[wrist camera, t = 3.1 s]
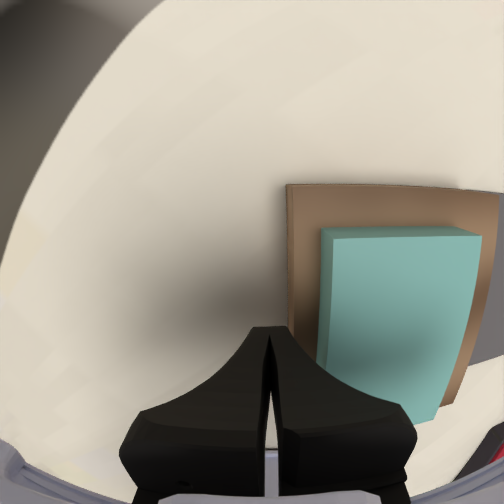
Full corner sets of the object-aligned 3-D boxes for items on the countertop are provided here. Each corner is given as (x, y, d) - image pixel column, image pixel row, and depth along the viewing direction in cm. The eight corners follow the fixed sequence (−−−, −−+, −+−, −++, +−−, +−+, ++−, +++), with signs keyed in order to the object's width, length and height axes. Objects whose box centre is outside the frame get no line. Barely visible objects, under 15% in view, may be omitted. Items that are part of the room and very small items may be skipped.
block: (419, 395, 12) (433, 419, 10) (311, 412, 13) (316, 441, 11) (454, 226, 10) (482, 235, 8) (321, 227, 10) (333, 238, 9)
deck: (430, 372, 16) (452, 403, 13) (286, 391, 16) (290, 432, 13) (459, 189, 13) (499, 194, 10) (285, 184, 14) (292, 186, 10)
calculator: (555, 413, 14) (502, 488, 17) (538, 397, 19) (491, 472, 21) (505, 445, 15) (446, 517, 18) (487, 422, 19) (437, 496, 22)
